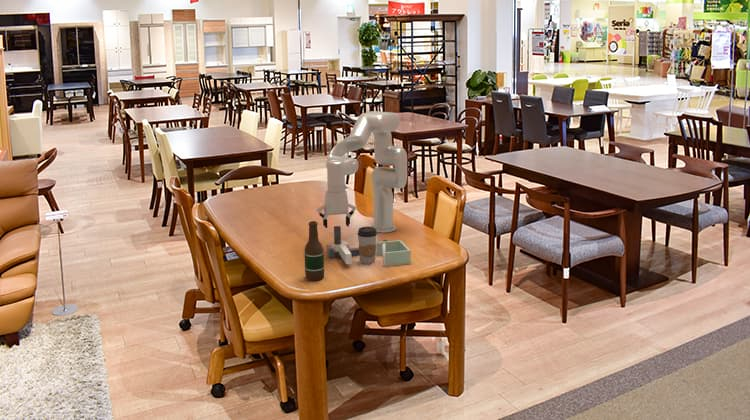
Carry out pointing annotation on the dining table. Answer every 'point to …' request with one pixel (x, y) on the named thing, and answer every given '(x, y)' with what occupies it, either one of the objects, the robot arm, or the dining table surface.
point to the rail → (333, 254)
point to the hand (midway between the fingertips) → (336, 226)
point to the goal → (393, 252)
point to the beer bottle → (314, 255)
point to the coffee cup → (367, 244)
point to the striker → (341, 246)
